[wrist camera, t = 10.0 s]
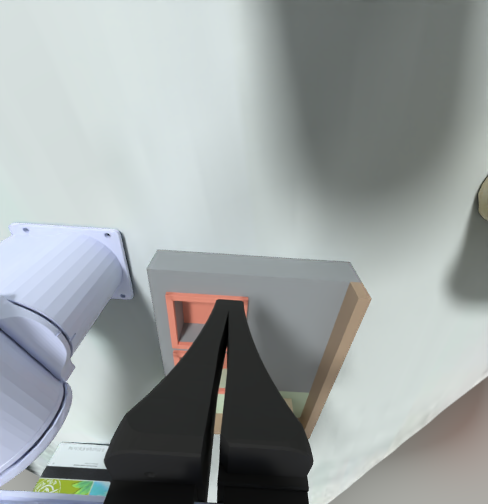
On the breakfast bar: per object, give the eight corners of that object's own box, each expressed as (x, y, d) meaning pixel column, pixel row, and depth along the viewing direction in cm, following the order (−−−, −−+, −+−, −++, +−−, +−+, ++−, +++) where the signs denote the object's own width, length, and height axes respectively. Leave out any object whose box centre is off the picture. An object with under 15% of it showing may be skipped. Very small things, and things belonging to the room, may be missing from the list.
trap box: (177, 392, 37) (167, 431, 32) (157, 249, 24) (137, 284, 19) (302, 398, 37) (309, 438, 33) (350, 262, 24) (371, 298, 20)
